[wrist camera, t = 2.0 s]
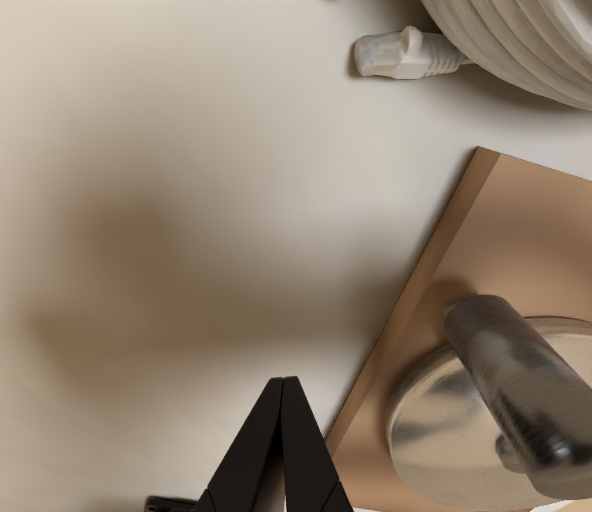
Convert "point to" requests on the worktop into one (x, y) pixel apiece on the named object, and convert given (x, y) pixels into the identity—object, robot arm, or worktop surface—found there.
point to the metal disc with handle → (497, 411)
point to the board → (462, 285)
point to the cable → (495, 46)
